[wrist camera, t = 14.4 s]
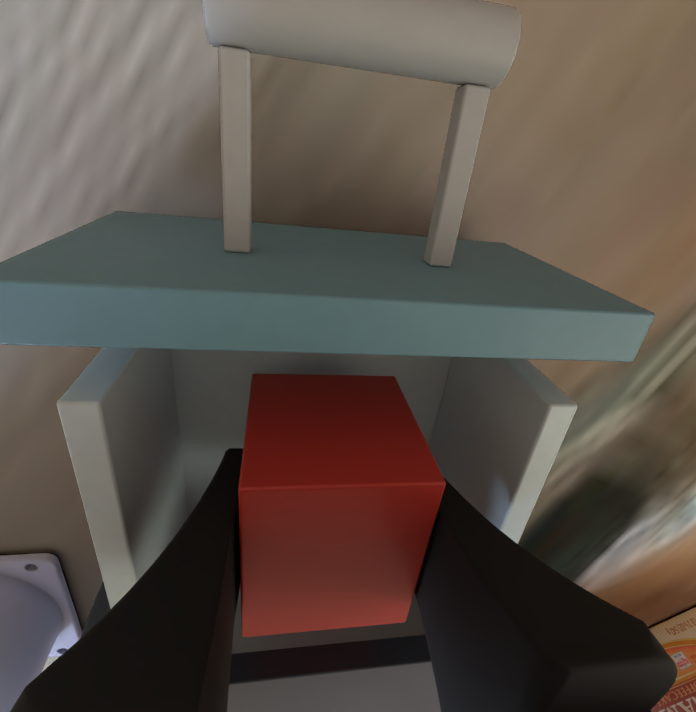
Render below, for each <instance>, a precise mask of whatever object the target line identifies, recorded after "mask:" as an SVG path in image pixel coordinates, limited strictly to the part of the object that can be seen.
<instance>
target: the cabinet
mask: <svg viewBox="0 0 696 712" xmlns="http://www.w3.org/2000/svg"><path fill="white" fill-rule="evenodd" d="M109 610H110V605H109V602H108V598H107V594H106V590H105V586H104V583H103V582H102V584H101V587H100V589H99V592H98V594H97V597H96V599H95V602H94V604H93V607H92V609H91V612H90V614H89V617H88V619H87V622H86V624H85V627H84V629H83V632H82V634H81V637H83V636H84V635H85V634H86V633H87V632H88V631H89V630H90V629H91V628H92V627H93V626H94V625H95V624H96V623H97V622H98V621H99V620H100V619H101V618H102V617H103V616H104V615H105V614H106V613H107V612H108V611H109ZM81 637H80V638H81ZM227 712H441V708H440V703H439V697H438V692H437V687H436V682H435V677H434V673H433V668H432V663H431V658H430V653H429V649H428V644H427V640H426V635H415V636H405V637H395V638H385V639H375V640H365V641H355V642H345V643H335V644H325V645H315V646H305V647H295V648H285V649H275V650H265V651H255V652H245V653H235V654H231V667H230V679H229V692H228V705H227Z"/></svg>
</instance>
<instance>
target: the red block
mask: <svg viewBox="0 0 696 712" xmlns="http://www.w3.org/2000/svg"><path fill="white" fill-rule="evenodd" d="M445 485H446V483H445V480H444V478H443V476H442V474H441V472H440V469H439V467H438V465H437V463H436V461H435V459H434V457H433V455H432V453H431V451H430V449H429V446H428V444H427V442H426V440H425V438H424V436H423V434H422V432H421V430H420V428H419V426H418V424H417V421H416V419H415V417H414V415H413V413H412V411H411V409H410V407H409V405H408V403H407V401H406V399H405V396H404V394H403V392H402V390H401V388H400V386H399V384H398V382H397V380H396V378H395V377H394V376H363V375H310V374H257V373H254V374H253V375H252V379H251V387H250V396H249V404H248V413H247V421H246V429H245V438H244V446H243V454H242V463H241V471H240V479H239V488H238V497H239V542H240V588H241V633H242V637H253V636H264V635H275V634H285V633H296V632H307V631H318V630H328V629H339V628H350V627H361V626H372V625H382V624H393V623H404V622H406V619H407V616H408V612H409V609H410V605H411V602H412V598H413V595H414V592H415V588H416V585H417V581H418V578H419V574H420V571H421V567H422V564H423V561H424V557H425V554H426V550H427V547H428V543H429V540H430V536H431V533H432V530H433V526H434V523H435V519H436V516H437V512H438V509H439V505H440V502H441V499H442V495H443V492H444V488H445Z"/></svg>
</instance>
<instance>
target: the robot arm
mask: <svg viewBox="0 0 696 712" xmlns="http://www.w3.org/2000/svg"><path fill="white" fill-rule="evenodd" d="M242 454H243V448H229V449H228V450H227V451H225V454H224V457H223V459H222V461H221V463H220V465H219V467H218V469H217V471H216V473H215V475H214V477H213V479H212V480H211V482H210V484H209V486H208V487H207V489H206V491H205V492H204V494H203V496H202V497H201V499H200V500H199V502H198V504H197V505H196V507H195V508H194V510H193V511H192V513H191V514H190V516H189V517H188V518H187V520H186V521H185V523H184V524H183V526H182V527H181V528H180V530H179V531H178V533H177V534H176V535H175V537H174V538H173V539H172V541H171V542H170V543H169V544H168V546H167V547H166V548H165V550H164V551H163V552H162V553H161V554H160V556H159V557H158V558H157V559H156V561H155V562H154V563H153V564H152V565H151V566H150V568H149V569H148V570H147V571H146V572H145V573H144V574H143V575H142V577H141V578H140V579H139V580H138V581H137V582H136V583H135V584H134V586H133V587H132V588H131V589H130V590H129V591H128V592H127V593H126V594H125V595H124V596H123V597H122V598H121V599H120V600H119V601H118V602H117V603H116V604H115V605H114V606H113V607H112V608H111V609H110V610H109V611H108V612H107V613H106V614H105V615H104V616H103V617H102V618H101V619H100V620H99V621H98V622H97V623H96V624H95V625H94V626H93V627H92V628H91V629H90V630H89V631H88V632H87V633H86V634H85V635H84V636H83V637H81V634H82V630H81V627H80V624H79V621H78V617H77V614H76V611H75V608H74V605H73V602H72V599H71V596H70V593H69V590H68V587H67V584H66V581H65V578H64V575H63V572H62V569H61V566H60V563H59V560H58V558H57V557H56V556H55V555H53V554H50V553H39V554H20V555H1V556H0V712H227V705H228V692H229V679H230V667H231V654H232V642H233V630H234V622H235V614H236V607H237V601H238V595H239V589H240V542H239V497H238V488H239V479H240V471H241V463H242ZM443 478H444V477H443ZM444 480H445V483H446V485H445V488H444V492H443V495H442V499H441V502H440V505H439V509H438V512H437V516H436V519H435V523H434V526H433V530H432V533H431V536H430V540H429V543H428V547H427V550H426V554H425V557H424V561H423V564H422V567H421V571H420V574H419V578H418V581H417V585H416V588H415V592H414V593H415V596H416V599H417V603H418V606H419V610H420V614H421V618H422V622H423V627H424V631H425V635H426V640H427V644H428V649H429V653H430V658H431V663H432V668H433V673H434V677H435V682H436V687H437V692H438V697H439V703H440V708H441V712H652V711H651V709H652V708H653V707H654V706H655V705H656V704H657V703H658V702H659V701H660V700H661V698H662V697H663V696H664V695H665V694H666V693H667V692H668V691H669V690H670V688H671V687H672V685H673V684H674V683H675V681H676V677H677V667H676V664H675V663H674V661H673V660H672V659H671V657H670V656H669V655H668V653H667V652H666V651H665V649H664V648H663V647H662V645H661V644H660V643H659V641H658V640H657V639H656V637H655V636H654V635H653V633H652V632H651V631H650V629H649V628H648V627H647V626H646V624H645V623H644V622H643V621H641V620H639V619H637V618H636V617H634V616H632V615H630V614H628V613H626V612H624V611H623V610H621V609H619V608H617V607H615V606H613V605H611V604H609V603H608V602H606V601H604V600H602V599H600V598H598V597H597V596H595V595H593V594H592V593H590V592H588V591H587V590H585V589H583V588H582V587H580V586H578V585H577V584H575V583H573V582H572V581H570V580H569V579H567V578H565V577H564V576H562V575H561V574H559V573H558V572H556V571H555V570H553V569H552V568H550V567H549V566H547V565H546V564H544V563H543V562H542V561H540V560H539V559H537V558H536V557H534V556H533V555H531V554H530V553H529V552H527V551H526V550H525V549H523V548H522V547H521V546H519V545H518V544H517V543H515V542H514V541H513V540H512V539H510V538H509V537H508V536H507V535H505V534H504V533H503V532H502V531H500V530H499V529H498V528H497V527H496V526H494V525H493V524H492V523H491V522H490V521H489V520H487V519H486V518H485V517H484V516H483V515H482V514H481V513H480V512H479V511H478V510H477V509H475V508H474V507H473V506H472V505H471V504H470V503H469V502H468V501H467V500H466V499H465V498H464V497H463V496H462V495H461V494H460V493H459V492H458V491H457V490H456V489H455V488H454V487H453V486H452V485H451V484H450V483H449V482H448V481H447V480H446V479H445V478H444ZM80 637H81V638H80ZM55 656H60V657H59V658H58V659H57V660H56V661H54V662H53V663H52V664H51V665H50V666H49V667H48V668H46V669H45V670H44V671H43V672H42V670H43V667H44V665H45V663H46V661H47V658H48V657H55ZM41 672H42V673H41Z"/></svg>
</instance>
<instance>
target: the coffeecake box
mask: <svg viewBox="0 0 696 712" xmlns="http://www.w3.org/2000/svg"><path fill="white" fill-rule="evenodd" d="M649 629H650V631H651V632H652V633H653V635H654V636H655V637H656V639H657V640H658V641H659V643H660V644H661V645H662V647H663V648H664V649H665V651H666V652H667V653H668V655H669V656H670V657H671V659H672V660H673V661H674V663H675V664H676V667H677V677H676V681H675V683H674V684H673V685H672V687H671V688H670V690H669V691H668V692H667V693H666V694H665V695H664V696H663V697H662V698H661V700H660V701H659V702H658V703H657V704H656V705H655V706H654V707H653V708H652V709H651V711H652V712H696V607H694V608H692V609H690V610H688V611H686V612H684V613H682V614H679V615H677V616H675V617H673V618H671V619H669V620H666V621H664V622H662V623H660V624H658V625H656V626H653V627H651V628H649Z"/></svg>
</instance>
